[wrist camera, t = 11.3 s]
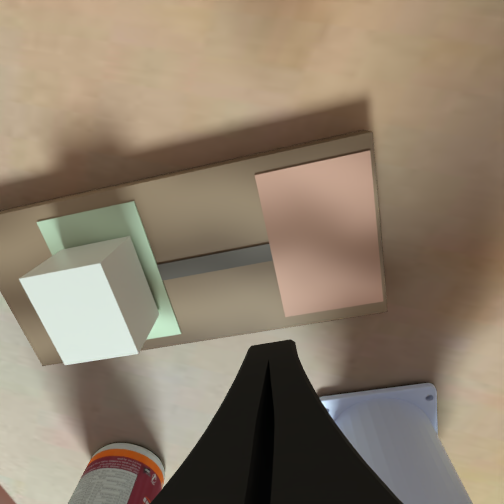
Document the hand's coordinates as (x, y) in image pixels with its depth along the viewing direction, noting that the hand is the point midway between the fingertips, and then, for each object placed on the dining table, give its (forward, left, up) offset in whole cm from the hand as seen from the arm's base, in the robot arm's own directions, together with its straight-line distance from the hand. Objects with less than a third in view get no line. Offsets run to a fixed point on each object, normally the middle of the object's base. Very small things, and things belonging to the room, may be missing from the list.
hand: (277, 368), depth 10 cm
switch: (0, +5, -10) cm, 12 cm away
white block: (0, +9, -9) cm, 13 cm away
